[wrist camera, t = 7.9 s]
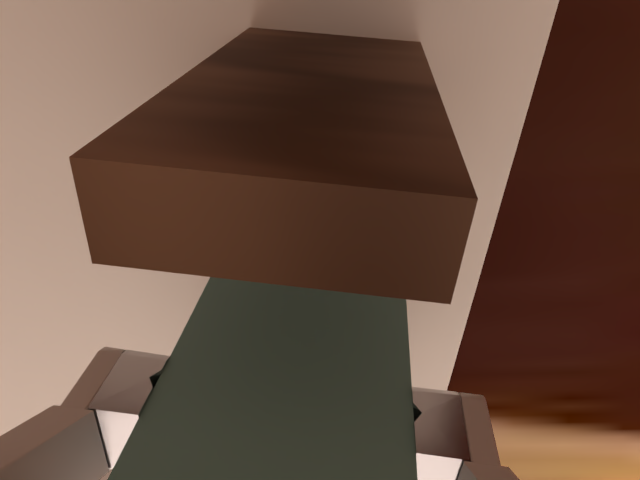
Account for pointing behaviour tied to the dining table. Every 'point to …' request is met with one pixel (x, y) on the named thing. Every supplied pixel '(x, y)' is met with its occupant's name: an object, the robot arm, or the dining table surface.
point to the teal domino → (280, 390)
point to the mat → (152, 77)
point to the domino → (287, 171)
